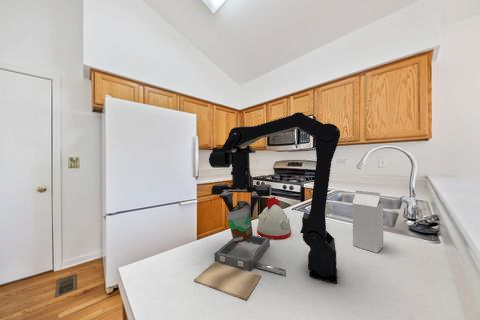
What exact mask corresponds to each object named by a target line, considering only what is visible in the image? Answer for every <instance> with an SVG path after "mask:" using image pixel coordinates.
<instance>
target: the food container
mask: <svg viewBox="0 0 480 320" xmlns="http://www.w3.org/2000/svg"><path fill="white" fill-rule="evenodd" d="M250 212H251V203H249V201H246V200H237V201H236V205H235V206H233V209H232V210H231V212H229V211H228V212H226V217H227V218H226V219H227V221H228V223H229V224H228V225H229V227H230V228H229V229H230V232H231V237H232V239H233V241H234V243H238V244H239V243H243V242H245V241H246V240H248V239H249V238H251V237H252V235H254V234H253V233H254V232H253V226H252V225H253V224H252V217H251V213H250Z"/></svg>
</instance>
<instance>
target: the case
mask: <svg viewBox="0 0 480 320" xmlns="http://www.w3.org/2000/svg"><path fill="white" fill-rule="evenodd" d="M250 242H251V244H255V245H260V246H259V247H258V248H257V249H256V250H255V252H254V253H253V254H252V255H251V256H250V257H249V259H247V258H243V257H239V256H235V255H231V254H228V253H229V252H230V251H232V250H233V249H234V248H235V247H236V246H237V245H238V244H239V243H234V241H233V238H231V239H230V240H228V242H226V243H225V244H224V245H223V246H222V247H220V248H219V249H218V250H216V251H215V252H214V262H216V263H219V264H223V265H226V266H230V267H233V268H237V269H240V270H244V271H247V272H251V271H252V270H253V269H254V268H255V267H253V263H254V262H258V263H259V261H260V260H261V258H262V257H263V255H264V254H265V253H266V252H267V250H268V248H269V247H270V246H271V240H270V238H265V237H260V236H259V235H254V234H253V235H252V237H251V238H249V239H248V240H246V243H250Z"/></svg>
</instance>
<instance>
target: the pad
mask: <svg viewBox="0 0 480 320" xmlns="http://www.w3.org/2000/svg"><path fill="white" fill-rule="evenodd" d="M261 278H262V275H261V274H257V273H254V272H251V271H247V270H244V269H240V268H237V267H233V266H230V265H226V264H223V263H219V262H216V261H213V262H212V263H211V264H210V265H208V267H206V268H205V269H204V270H203V271H202V272H201V273H200V274H199V275H197V277H195V278H194V279H193V282H195V283H197V284H201V285H203V286H206V287H208V288H211V289H214V290H216V291H219V292H222V293H224V294H227V295H230V296H233V297H235V298H238V299H240V300H244V301H246V302H247V301H248V300H249V298H250V297H251V295H252V293H253V291H254V290H255V288H256V286H257V285H258V284H259V282H260V280H261Z"/></svg>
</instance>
